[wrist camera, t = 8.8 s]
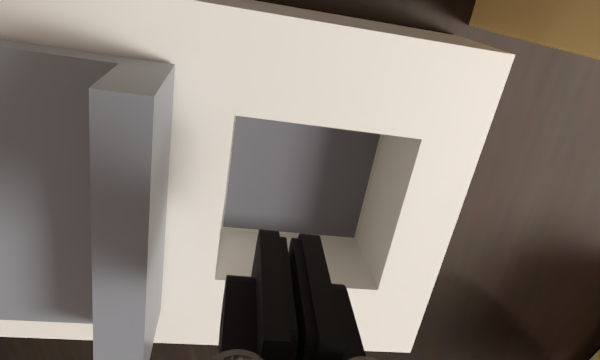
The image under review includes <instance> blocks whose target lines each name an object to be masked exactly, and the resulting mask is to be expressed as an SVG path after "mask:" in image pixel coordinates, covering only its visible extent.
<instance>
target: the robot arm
mask: <svg viewBox="0 0 600 360" xmlns="http://www.w3.org/2000/svg"><path fill="white" fill-rule="evenodd" d="M211 360H378V359H374V358H371V357H366V355H365V351H364V348H363V344H362V341H361V337H360V334H359V330H358V327H357V323H356V320H355V316H354V312H353V309H352V305H351V302H350V298H349V295H348V291H347V288H346V286H345V285H344V284H332V283H331V279H330V275H329V271H328V267H327V262H326V258H325V254H324V250H323V246H322V242H321V238H320V236H319V235H312V234H302V233H300V234H299V236H298V238H291V241H290V246H289V251H288V246H287V238H286V237H280V233H279V231H272V230H262V229H259V232H258V236H257V243H256V249H255V255H254V261H253V267H252V273H251V277H248V276H236V275H226V281H225V288H224V295H223V303H222V312H221V321H220V332H219V344H218V355H216V356H214V357H213V358H212V359H211Z"/></svg>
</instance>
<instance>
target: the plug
mask: <svg viewBox="0 0 600 360" xmlns="http://www.w3.org/2000/svg"><path fill="white" fill-rule="evenodd" d="M469 26H473V27H477V28H481V29H484V30H488V31H492V32H496V33H499V34H503V35H507V36H511V37H515V38H518V39H522V40H526V41H530V42H533V43H537V44H541V45H545V46H548V47H552V48H556V49H560V50H563V51H567V52H571V53H575V54H578V55H582V56H586V57H590V58H593V59H597V60H600V0H476V3H475V6H474V9H473V12H472V16H471V19H470V22H469Z"/></svg>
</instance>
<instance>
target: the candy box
mask: <svg viewBox="0 0 600 360" xmlns="http://www.w3.org/2000/svg"><path fill="white" fill-rule="evenodd" d="M590 360H600V349H599V350H598V351H597V352H596V353H595V355H594V356H593V357H592V358H591V359H590Z"/></svg>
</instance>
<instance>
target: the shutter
mask: <svg viewBox="0 0 600 360" xmlns="http://www.w3.org/2000/svg"><path fill="white" fill-rule="evenodd" d="M174 74H175V64H169V63H162V62H155V61H148V60H142V59H135V58H128V57H121V56H114V55H107V54H100V53H93V52H86V51H79V50H72V49H65V48H58V47H51V46H44V45H37V44H30V43H24V42H17V41H10V40H3V39H0V320H18V321H40V322H62V323H84V324H93V360H149V359H150V354H151V350H152V346H153V341H154V337H155V333H156V328H157V324H158V320H159V315H160V311H161V298H162V280H163V263H164V246H165V229H166V212H167V195H168V177H169V160H170V143H171V126H172V109H173V91H174Z"/></svg>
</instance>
